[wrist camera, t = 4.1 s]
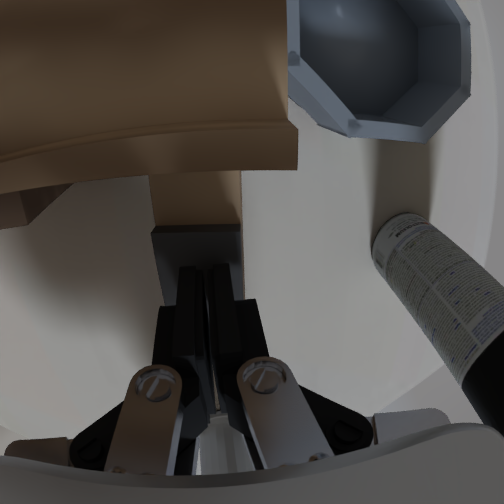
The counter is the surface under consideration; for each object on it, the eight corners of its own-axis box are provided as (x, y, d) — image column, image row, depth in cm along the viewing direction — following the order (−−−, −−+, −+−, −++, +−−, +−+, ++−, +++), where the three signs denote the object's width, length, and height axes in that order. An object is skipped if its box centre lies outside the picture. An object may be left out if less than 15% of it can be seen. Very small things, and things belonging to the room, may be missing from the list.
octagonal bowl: (417, 132, 22) (465, 150, 17) (260, 124, 20) (278, 137, 15) (417, -12, 15) (465, -23, 10) (257, -44, 14) (274, -81, 9)
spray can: (402, 281, 29) (515, 439, 12) (355, 262, 27) (481, 457, 10) (437, 227, 27) (580, 368, 10) (393, 198, 25) (572, 366, 7)
